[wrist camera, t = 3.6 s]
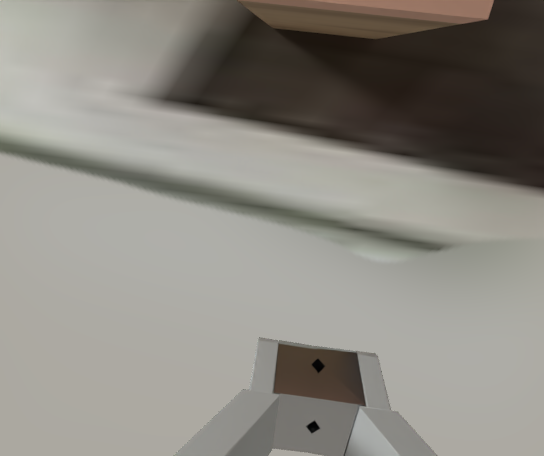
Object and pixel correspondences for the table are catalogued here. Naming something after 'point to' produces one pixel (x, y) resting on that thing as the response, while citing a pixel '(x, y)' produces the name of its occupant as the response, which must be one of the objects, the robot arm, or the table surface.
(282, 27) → the walnut block
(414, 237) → the table surface
